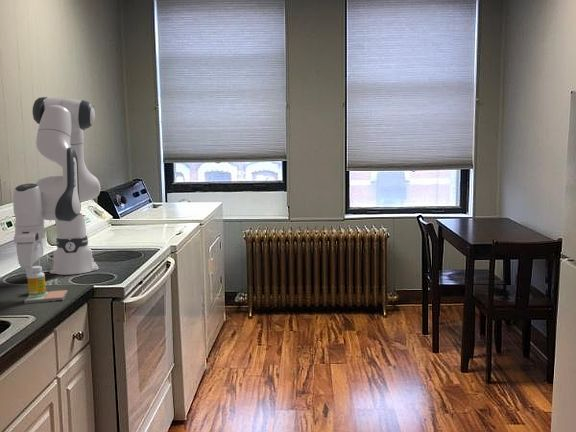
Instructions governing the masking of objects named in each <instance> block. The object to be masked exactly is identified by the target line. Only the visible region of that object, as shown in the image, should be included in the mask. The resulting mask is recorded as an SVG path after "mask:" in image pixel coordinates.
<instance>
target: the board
mask: <svg viewBox="0 0 576 432" xmlns="http://www.w3.org/2000/svg"><path fill="white" fill-rule="evenodd" d="M67 293H69V291H68V290H67V289H65V290H51V291H46V295H44V296H41V297H30V296H29V295H28V296H27V297H26V299H24V300H23V304H24V305H25V304H36V303H50V302H49V301H52V302H57V301H56V300H62V301H64V300H65V298H66V297H67V295H68V294H67ZM66 294H67V295H66ZM65 296H66V297H65Z"/></svg>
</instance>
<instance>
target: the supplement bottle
mask: <svg viewBox="0 0 576 432" xmlns="http://www.w3.org/2000/svg"><path fill="white" fill-rule="evenodd" d="M42 271H43V268H42V266H41V265H39V266H33V265H32V272H33V277H32V278H27V277H26V279H27V287H28V288H27V289H28V296H30V297H41V296H44V295H46V292H47V288H46V276H45V272H42Z"/></svg>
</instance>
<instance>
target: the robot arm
mask: <svg viewBox="0 0 576 432" xmlns="http://www.w3.org/2000/svg"><path fill="white" fill-rule="evenodd" d="M32 117H33V120H34V122H36V123H37V124H38V127H37V128H38V129H37V134H36V141H35V143H36V148H37V151H38V152H39V153H40V155H41V156H43V158H46V159H47V160H49V161H50V162H51V161H52V162H54V163H56V164H57V165H58V166H60V167H62V175H51V176H47V177H44V178H40V179H38V180H37V181H36V182H35V183H24V184H20V185H17V186H15V188H14V190H13V195H12V198H13V199H12V201H13V203H12V205H13V206H12V207H13V214H14V217H15V221H14V229H15V230H14V236H13V243H14V244H15V245H16V248H15V249H16V254H17V260H18V264H19V266H20V267H22V268H24V271H25V274H26V275H25V276H26V279H27V278H32V277H33V272H32V266H40V263H41V262H40V261H41V257H42V256H43V255H44V244H43V243H44V242H43V239H45V238H46V237H45V234H46V233H45V224H44V221H54V222H55V228H56V236H57V237H56V240H55V244H56V247H57V248H56V250H54V252H53V268H52V269H51V270H49V274H54V275H55V274H56V275H63V276H64V275H65V276H67V275H78V274H79V275H80V274H85V273H89V272H93V271H99V270H98V269H99V266H98V263H96V261H95V258H94V257H93V250H92V249H91V248H90V247H89V238H88V236H87V229H86V219H85V216H84V215H82V213H81V210H82V209H81V208H82V204H81V202H88V201H91V200H94V199H97V198H98V197H99V195H100V193H101V189H102V188H101V182H100V181H99V179H98V178H97V176H95V175H93V174H92V173H91V172H90V170H88V167H87V166H86V163H85V154H84V153H85V152H84V151H85V150H84V149H85V146H84V145H85V143H84V142H85V141H84V140H85V139H84V138H85V137H84V136H85V135H84V131H85V130H87V129H90V127H92V126H93V124H94V121H95V119H96V111H95V107H94V105H93V104H92V103H91V102H89V101H86V100H79V99H74V98H70V97H64V98H63V97H48V96H42V97H38V98H36V99H35V100H34V103H33V105H32Z"/></svg>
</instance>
